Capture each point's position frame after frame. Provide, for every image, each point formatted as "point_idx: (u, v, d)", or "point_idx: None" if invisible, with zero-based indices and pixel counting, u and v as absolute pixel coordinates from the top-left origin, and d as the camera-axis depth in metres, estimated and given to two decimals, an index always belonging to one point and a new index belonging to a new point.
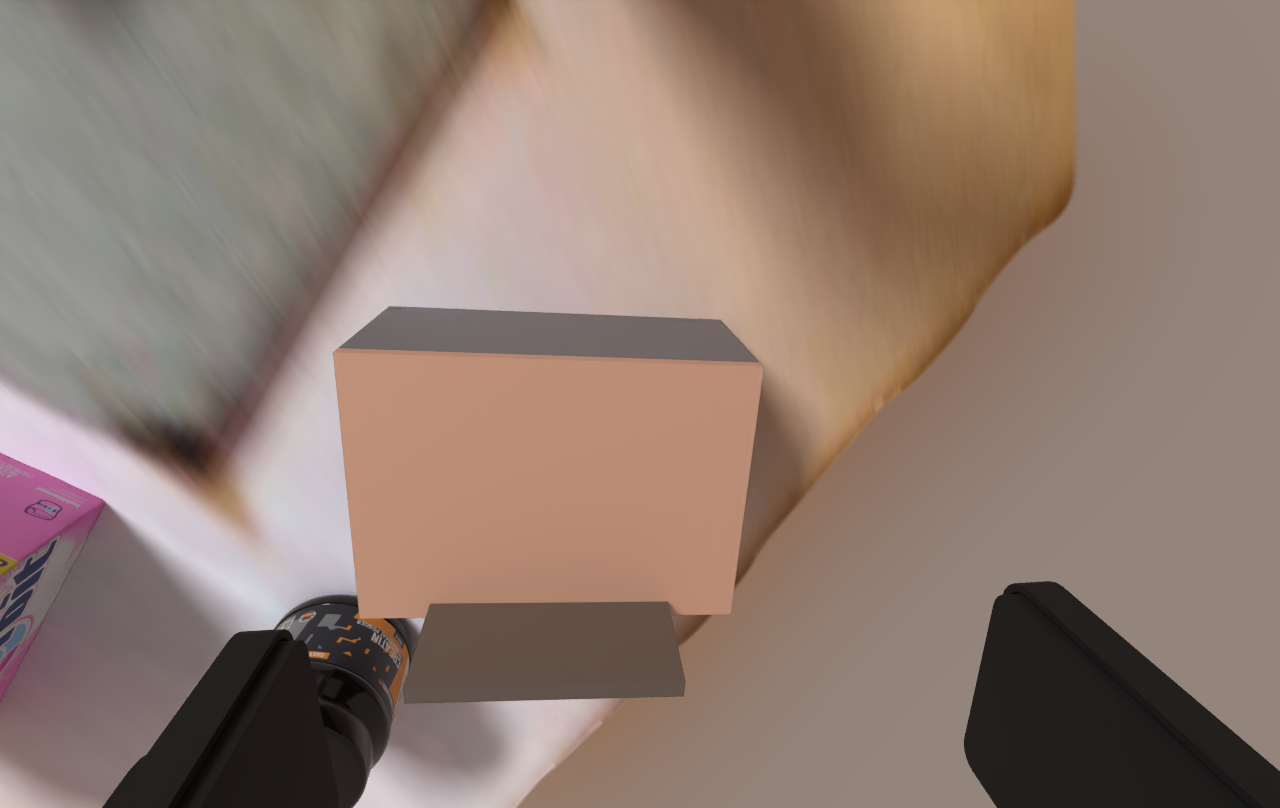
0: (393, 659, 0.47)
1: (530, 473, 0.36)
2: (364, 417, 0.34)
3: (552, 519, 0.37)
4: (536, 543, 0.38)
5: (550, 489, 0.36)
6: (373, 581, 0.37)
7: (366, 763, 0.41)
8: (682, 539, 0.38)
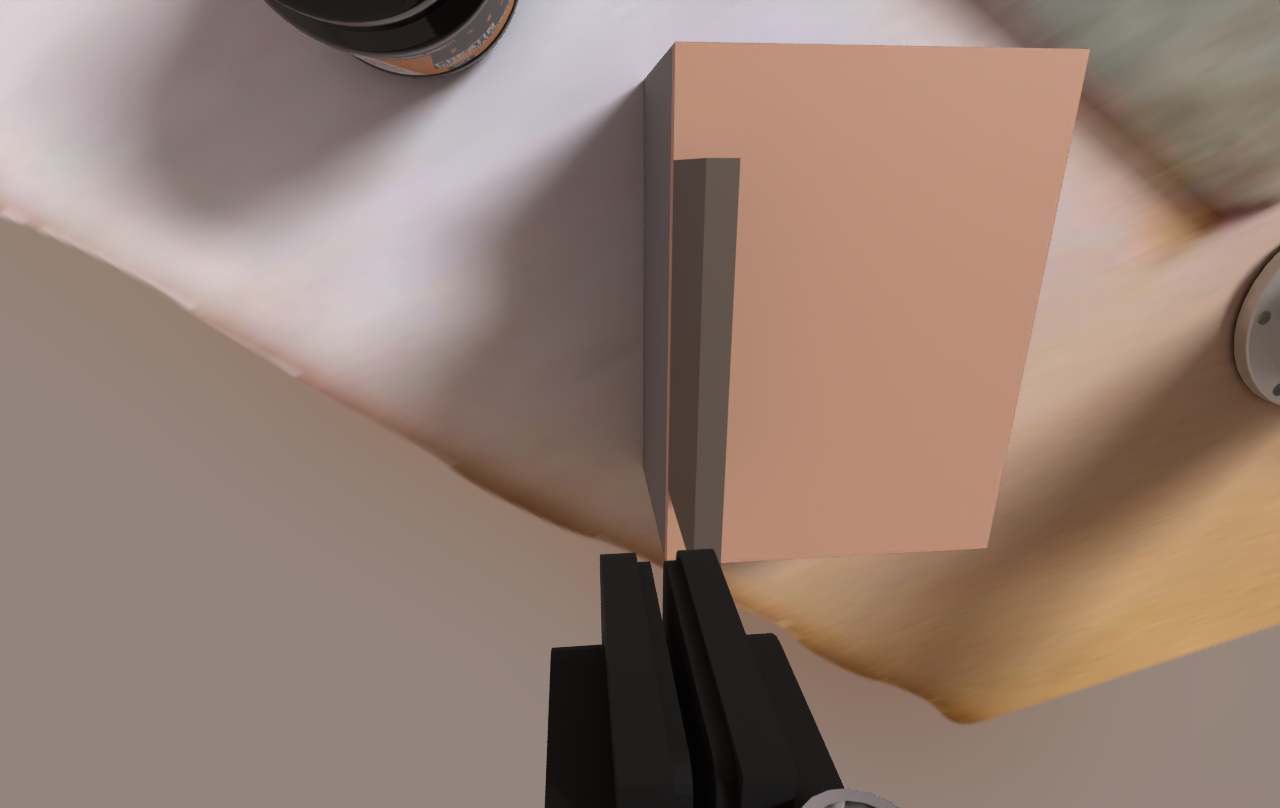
0: (453, 56, 0.29)
1: (893, 304, 0.28)
2: (998, 84, 0.25)
3: (824, 335, 0.28)
4: (790, 314, 0.28)
5: (868, 330, 0.28)
6: (743, 71, 0.24)
7: (366, 23, 0.22)
8: (781, 494, 0.30)
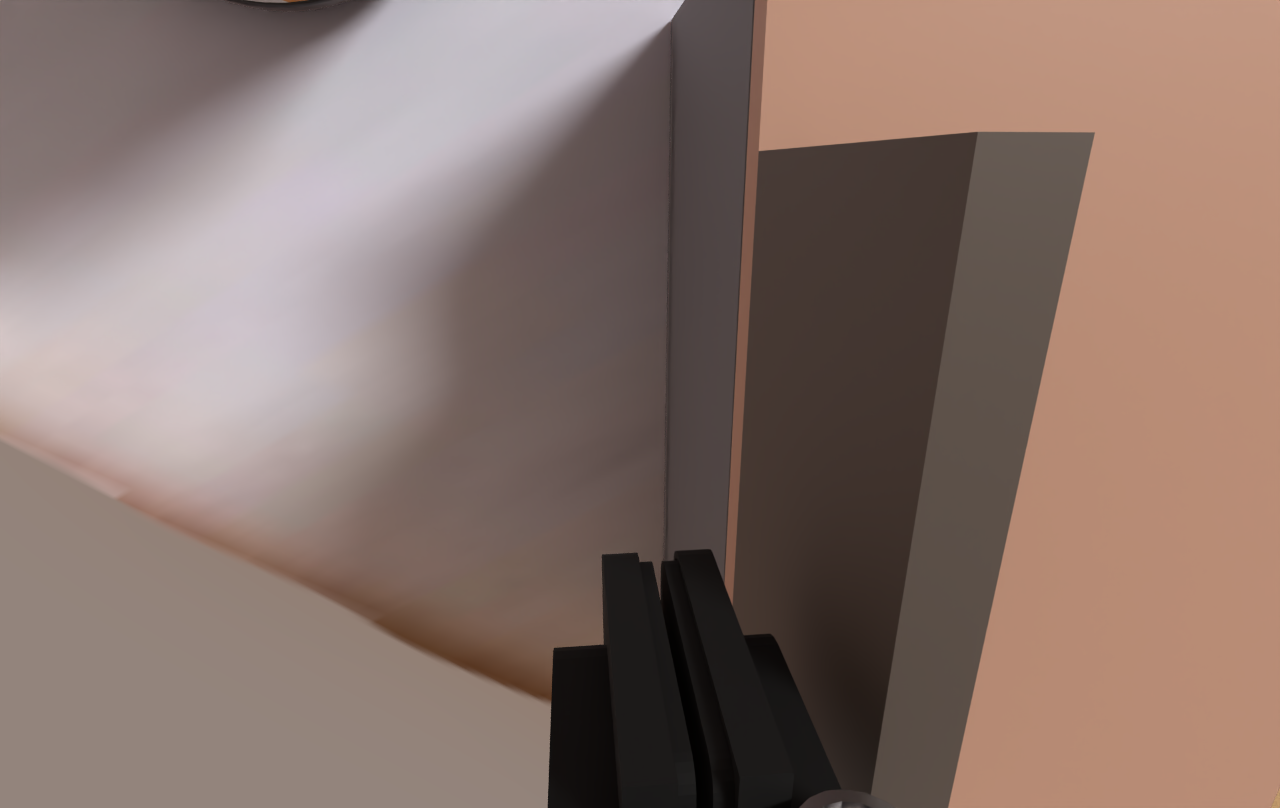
0: None
1: (1174, 437, 0.14)
2: None
3: (1036, 495, 0.14)
4: None
5: (1118, 485, 0.14)
6: None
7: None
8: None
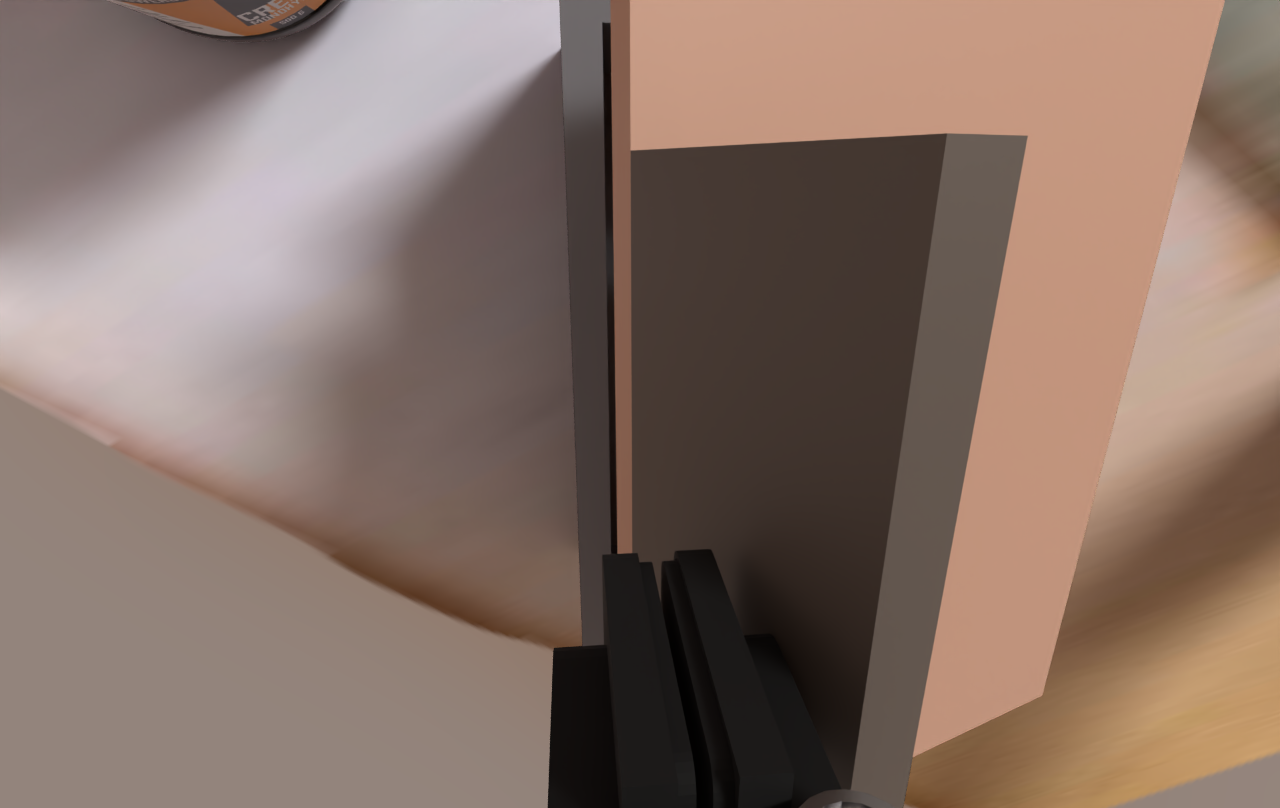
0: (264, 4, 0.20)
1: None
2: (1129, 28, 0.15)
3: None
4: None
5: None
6: None
7: None
8: None
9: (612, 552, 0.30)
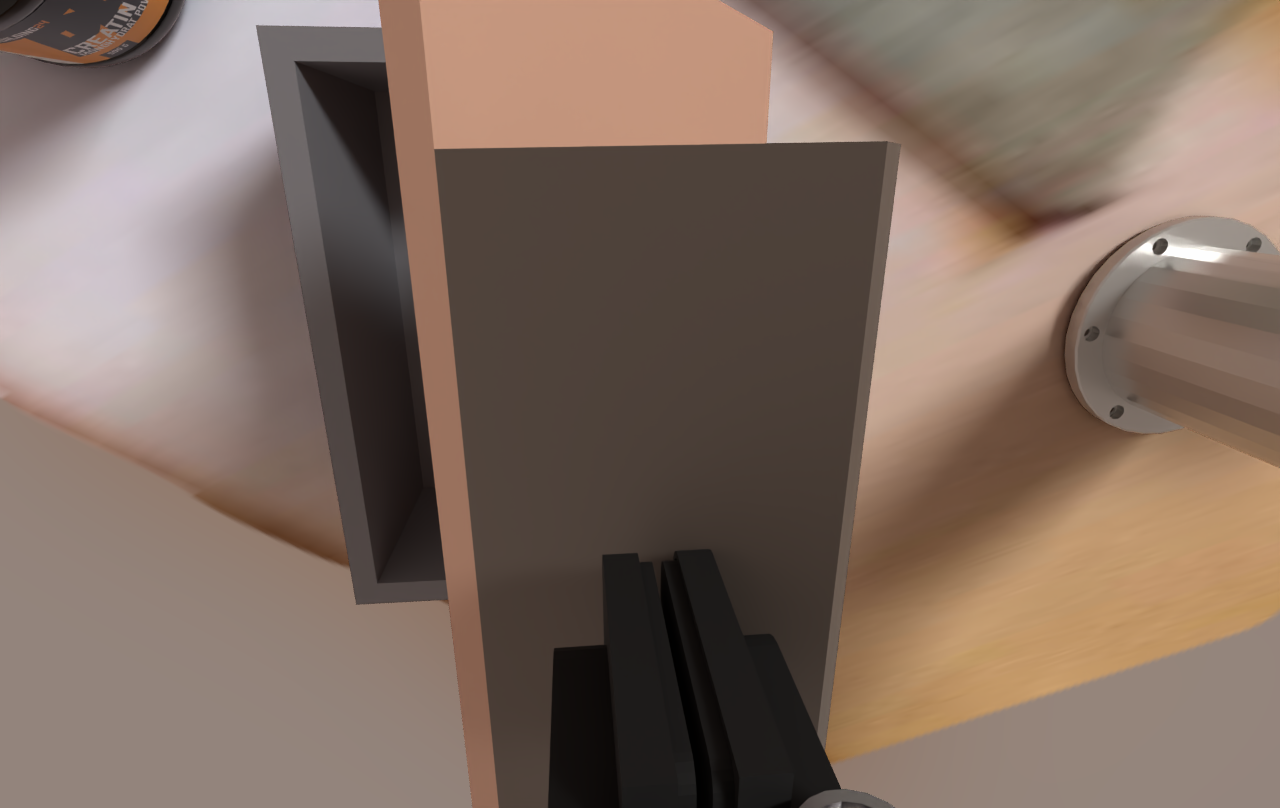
0: (83, 41, 0.25)
1: None
2: (734, 59, 0.19)
3: None
4: None
5: None
6: None
7: None
8: None
9: (429, 492, 0.36)
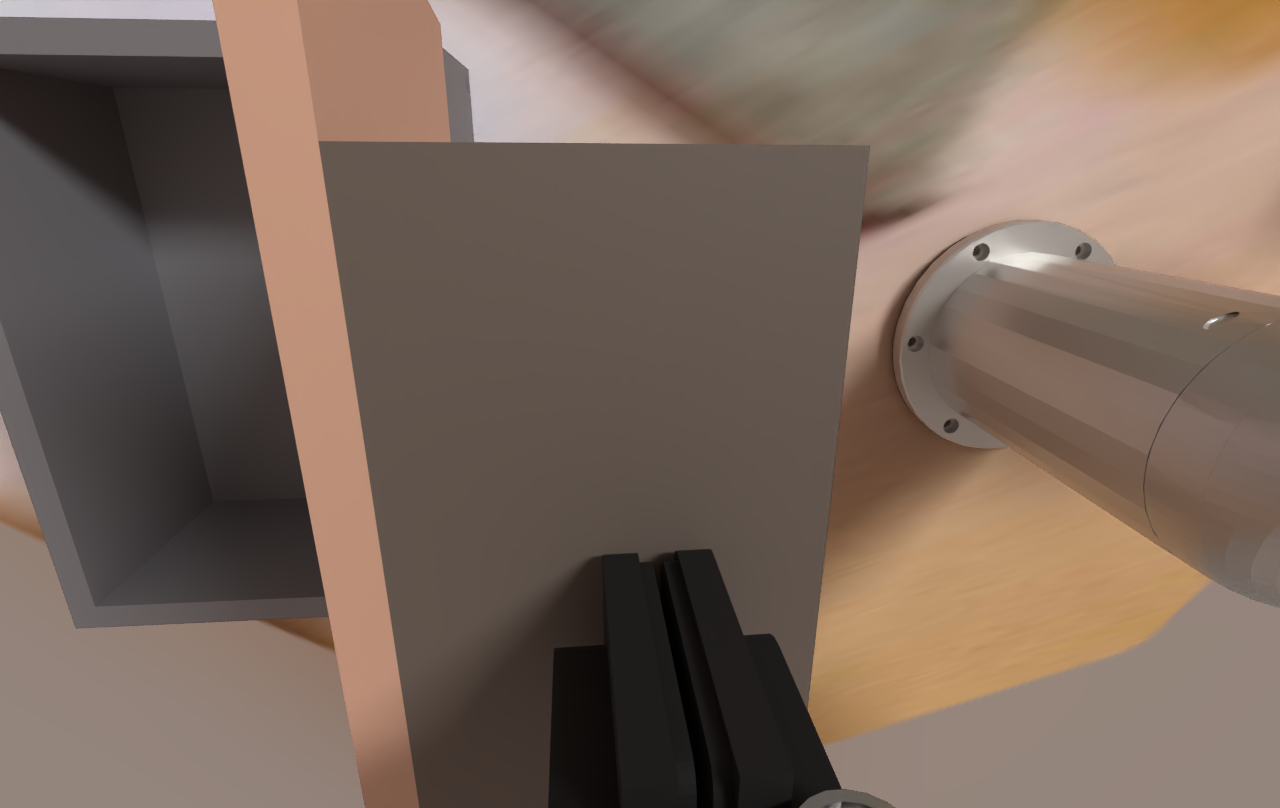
0: None
1: None
2: (431, 50, 0.18)
3: None
4: None
5: None
6: None
7: None
8: None
9: (216, 506, 0.34)
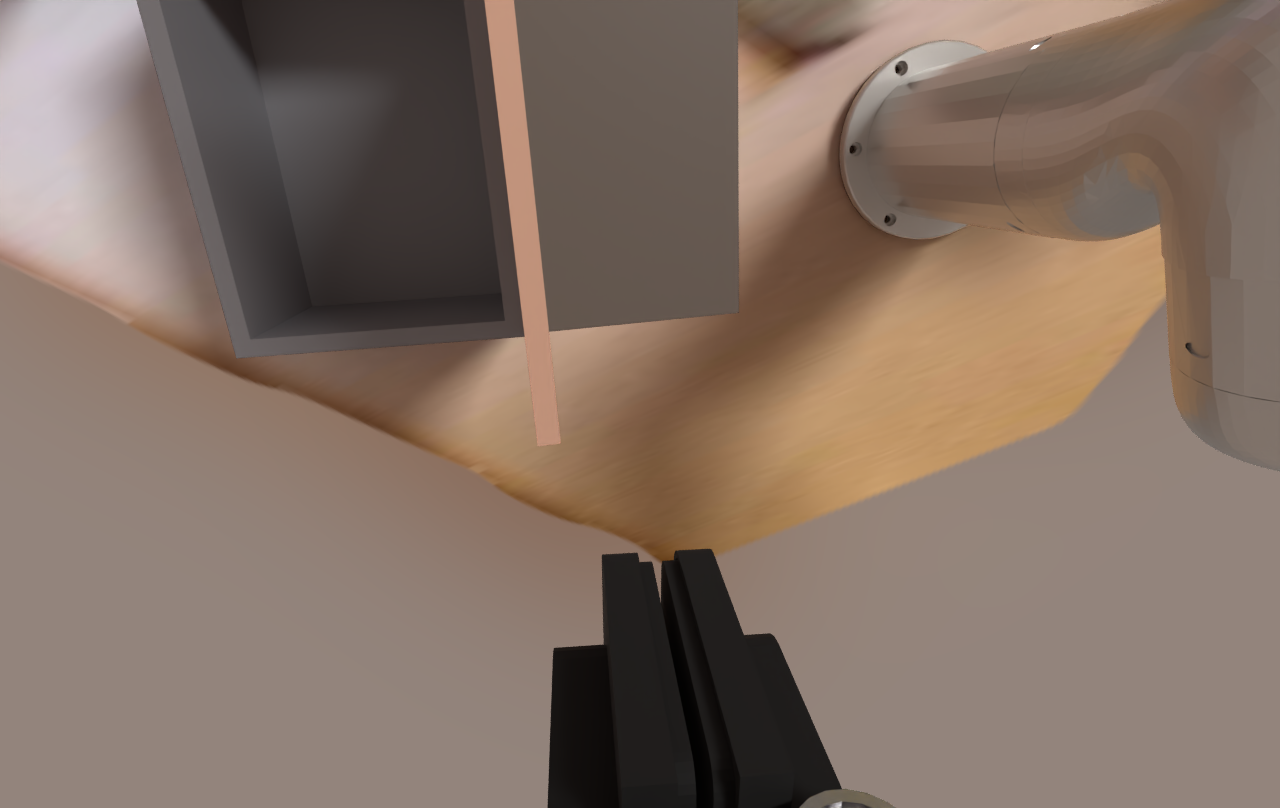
0: None
1: None
2: None
3: None
4: None
5: None
6: None
7: None
8: None
9: (315, 308, 0.44)
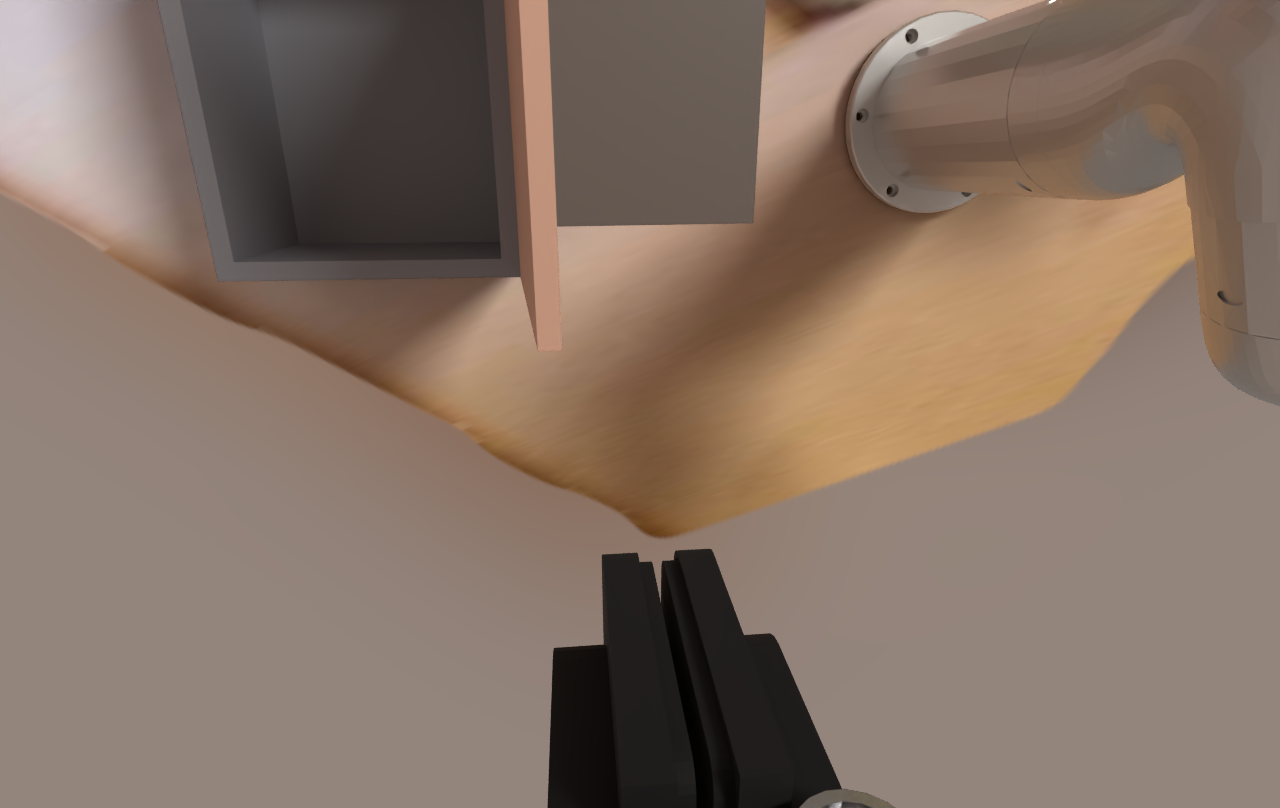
0: None
1: None
2: None
3: None
4: None
5: None
6: None
7: None
8: None
9: (303, 244, 0.43)
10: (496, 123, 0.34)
